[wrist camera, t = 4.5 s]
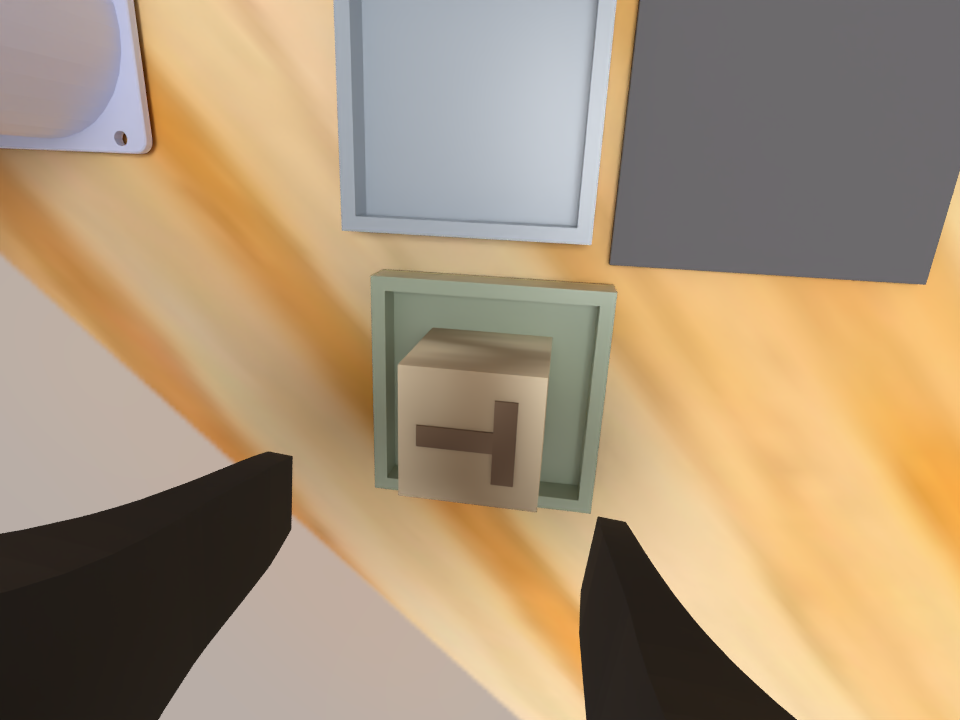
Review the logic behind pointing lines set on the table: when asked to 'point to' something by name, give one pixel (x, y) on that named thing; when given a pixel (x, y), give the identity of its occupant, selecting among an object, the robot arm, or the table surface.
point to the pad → (790, 137)
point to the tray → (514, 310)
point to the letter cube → (473, 417)
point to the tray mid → (472, 116)
